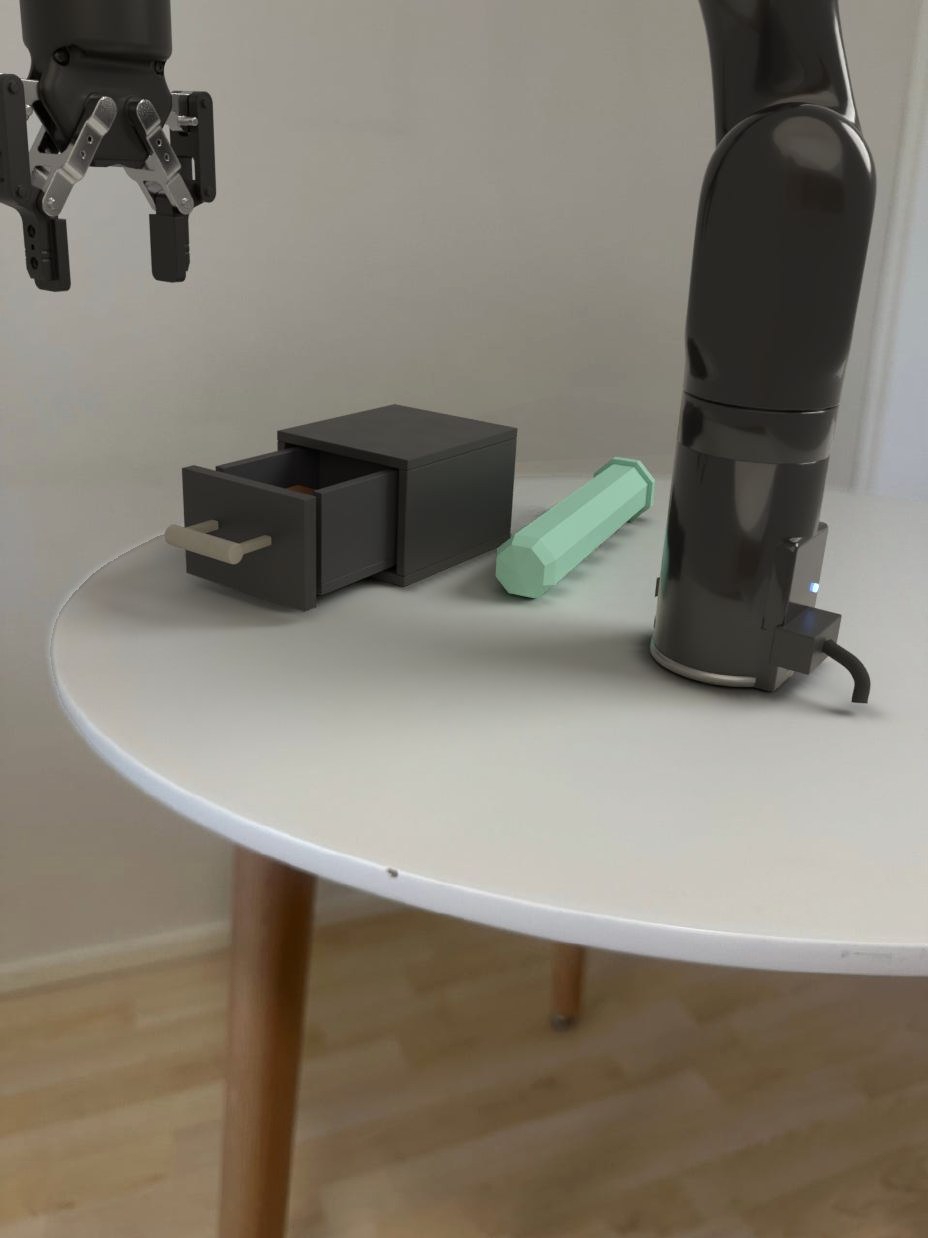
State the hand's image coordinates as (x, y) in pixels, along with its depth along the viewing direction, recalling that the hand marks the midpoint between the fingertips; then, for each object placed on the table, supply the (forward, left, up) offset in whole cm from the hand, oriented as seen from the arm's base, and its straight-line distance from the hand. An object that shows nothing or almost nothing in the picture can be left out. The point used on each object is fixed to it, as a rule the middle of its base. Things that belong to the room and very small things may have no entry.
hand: (113, 285), depth 65 cm
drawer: (0, -14, -21) cm, 25 cm away
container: (-12, -35, -22) cm, 43 cm away
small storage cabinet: (0, -27, -22) cm, 35 cm away
